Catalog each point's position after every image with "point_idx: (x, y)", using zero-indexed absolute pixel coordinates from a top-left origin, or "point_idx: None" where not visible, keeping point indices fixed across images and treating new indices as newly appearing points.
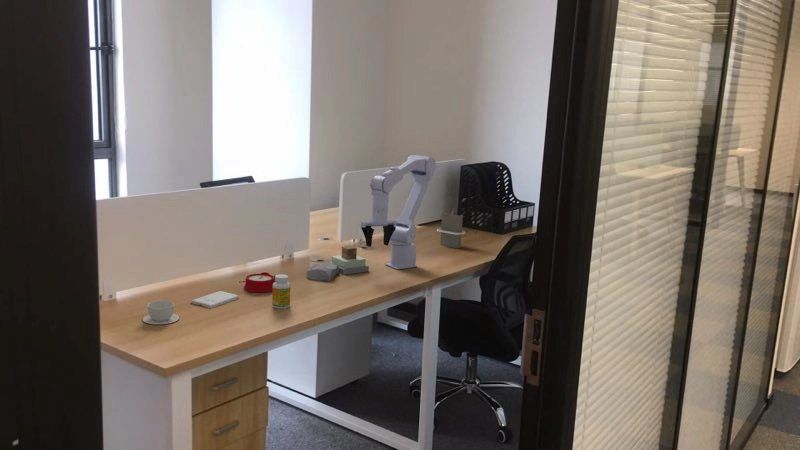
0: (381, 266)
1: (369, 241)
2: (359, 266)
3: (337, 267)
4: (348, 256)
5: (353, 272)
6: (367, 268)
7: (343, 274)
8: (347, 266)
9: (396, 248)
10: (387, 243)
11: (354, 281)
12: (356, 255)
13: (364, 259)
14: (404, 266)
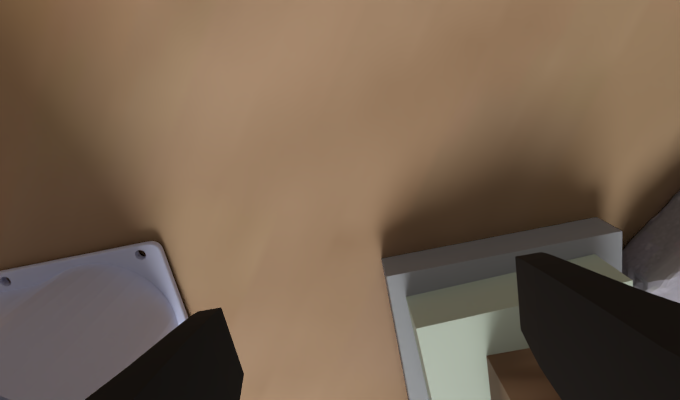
0: (246, 340)
1: (616, 286)
2: (462, 281)
3: (669, 257)
4: None
5: (512, 235)
6: (395, 266)
7: (596, 217)
8: (582, 264)
9: (67, 393)
10: (203, 320)
11: (621, 14)
12: (497, 374)
13: (427, 323)
14: (84, 266)
